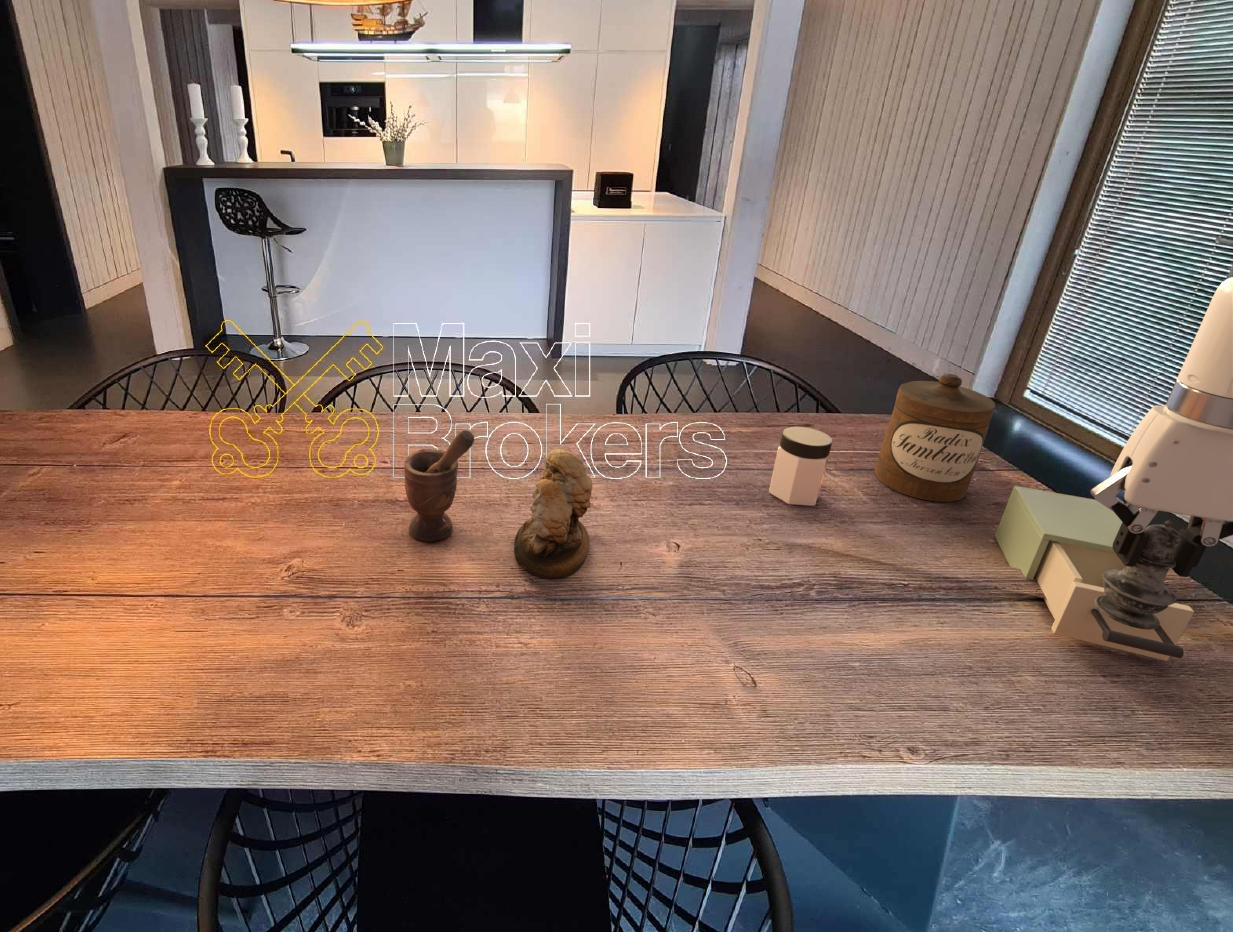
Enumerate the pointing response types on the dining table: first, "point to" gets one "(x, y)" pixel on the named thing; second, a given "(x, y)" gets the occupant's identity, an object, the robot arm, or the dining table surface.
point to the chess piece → (1142, 581)
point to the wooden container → (934, 439)
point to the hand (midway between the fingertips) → (1149, 562)
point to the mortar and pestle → (434, 487)
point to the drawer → (1070, 598)
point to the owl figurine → (556, 519)
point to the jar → (800, 465)
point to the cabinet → (1052, 526)
